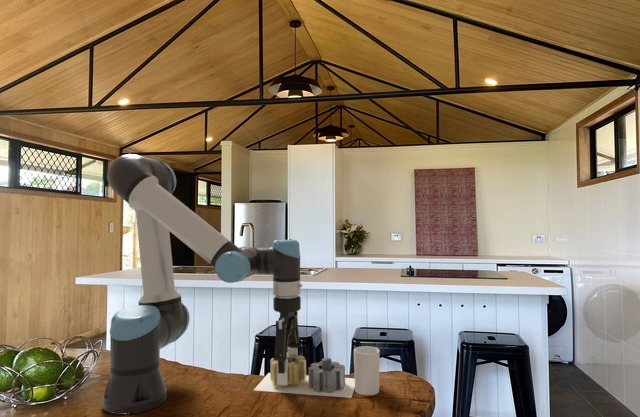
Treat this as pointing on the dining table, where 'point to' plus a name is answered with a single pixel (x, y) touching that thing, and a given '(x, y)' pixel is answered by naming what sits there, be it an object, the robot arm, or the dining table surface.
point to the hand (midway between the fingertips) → (287, 377)
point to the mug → (366, 370)
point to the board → (306, 384)
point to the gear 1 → (290, 369)
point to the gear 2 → (326, 377)
